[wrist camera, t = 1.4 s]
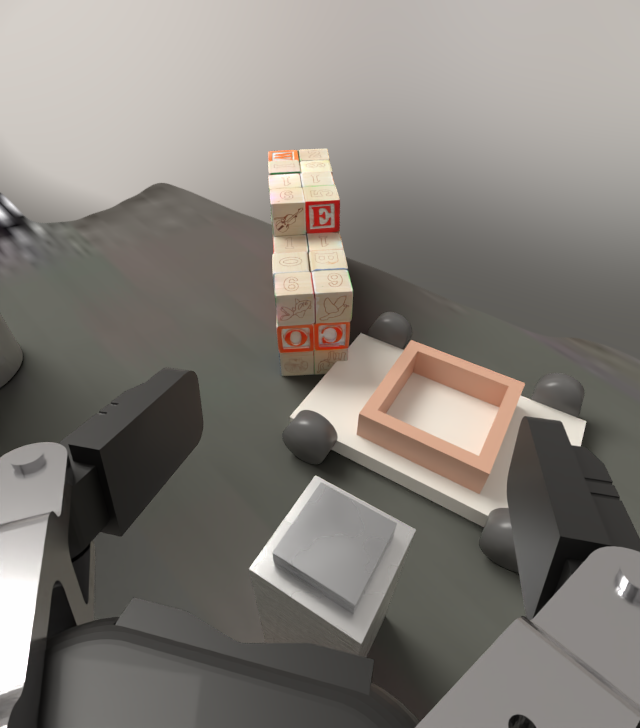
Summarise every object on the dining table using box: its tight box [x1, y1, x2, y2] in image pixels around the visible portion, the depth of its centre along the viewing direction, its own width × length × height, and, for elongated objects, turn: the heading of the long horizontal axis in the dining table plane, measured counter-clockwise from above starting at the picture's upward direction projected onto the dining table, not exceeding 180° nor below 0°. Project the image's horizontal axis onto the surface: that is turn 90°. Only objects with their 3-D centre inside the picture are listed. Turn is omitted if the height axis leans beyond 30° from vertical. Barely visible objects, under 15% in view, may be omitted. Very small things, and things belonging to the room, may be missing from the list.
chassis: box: [282, 312, 586, 573], centre depth 35 cm, size 20×16×4 cm
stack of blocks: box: [268, 149, 353, 376], centre depth 44 cm, size 21×6×12 cm, turn 5°
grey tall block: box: [249, 475, 416, 657], centre depth 22 cm, size 5×5×12 cm
